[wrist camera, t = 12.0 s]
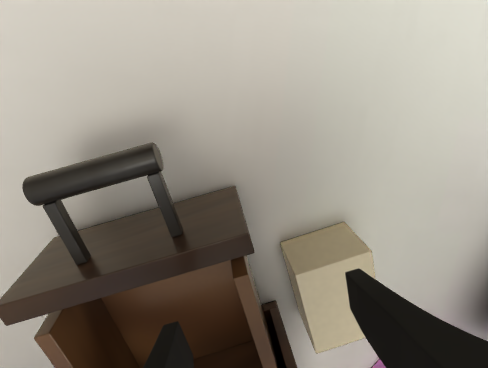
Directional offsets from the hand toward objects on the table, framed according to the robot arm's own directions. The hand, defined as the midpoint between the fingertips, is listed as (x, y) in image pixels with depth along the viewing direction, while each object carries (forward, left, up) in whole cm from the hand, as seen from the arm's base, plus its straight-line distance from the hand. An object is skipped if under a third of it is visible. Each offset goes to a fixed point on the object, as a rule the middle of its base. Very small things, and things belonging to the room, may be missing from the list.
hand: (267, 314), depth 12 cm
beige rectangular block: (+5, -7, -10) cm, 13 cm away
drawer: (-6, -2, -9) cm, 11 cm away
